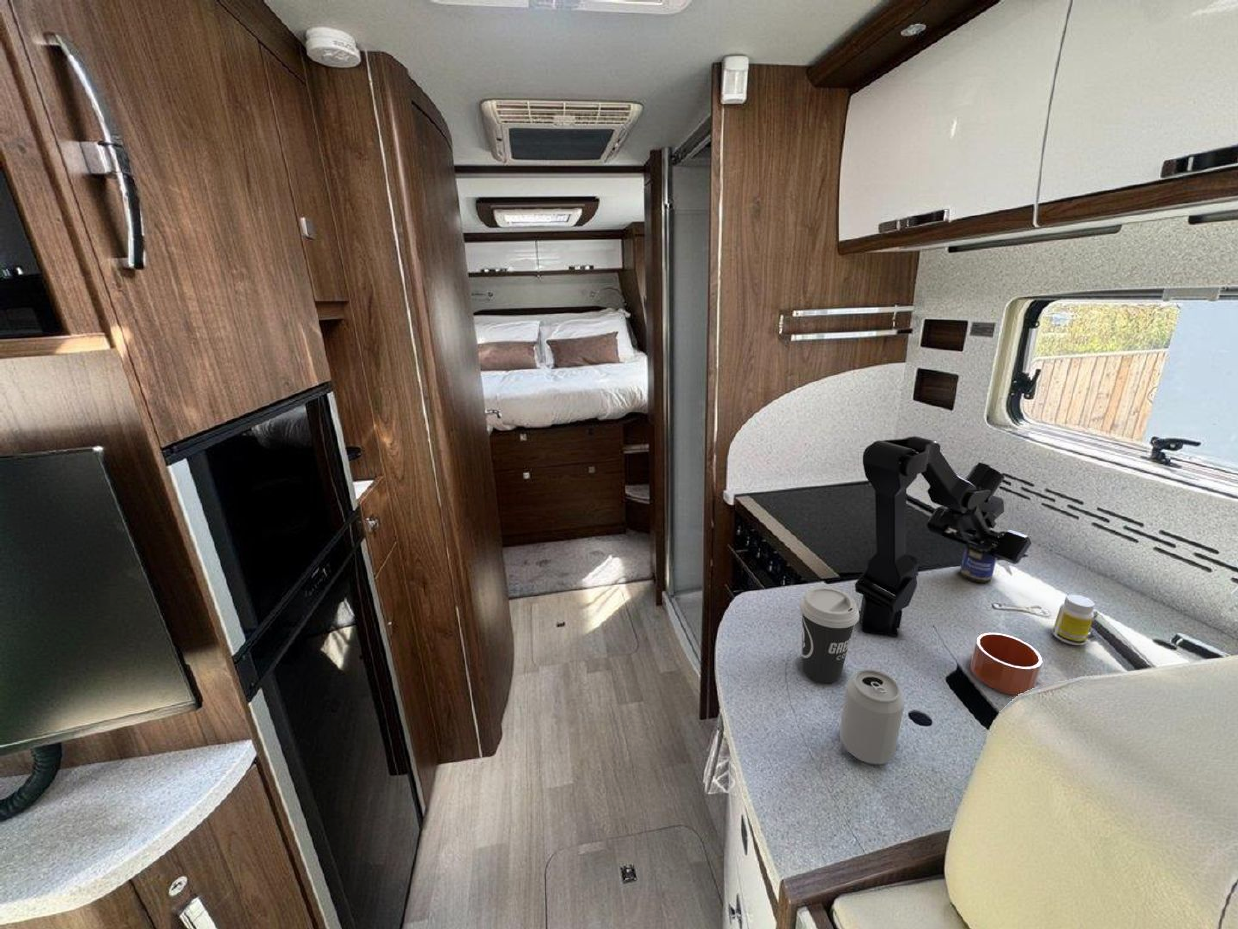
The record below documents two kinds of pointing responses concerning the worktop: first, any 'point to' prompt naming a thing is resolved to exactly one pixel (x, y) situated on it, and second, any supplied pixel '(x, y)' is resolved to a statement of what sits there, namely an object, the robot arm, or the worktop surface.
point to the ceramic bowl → (1005, 663)
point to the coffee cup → (826, 632)
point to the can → (871, 716)
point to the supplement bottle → (1074, 620)
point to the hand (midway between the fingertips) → (984, 549)
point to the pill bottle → (978, 562)
